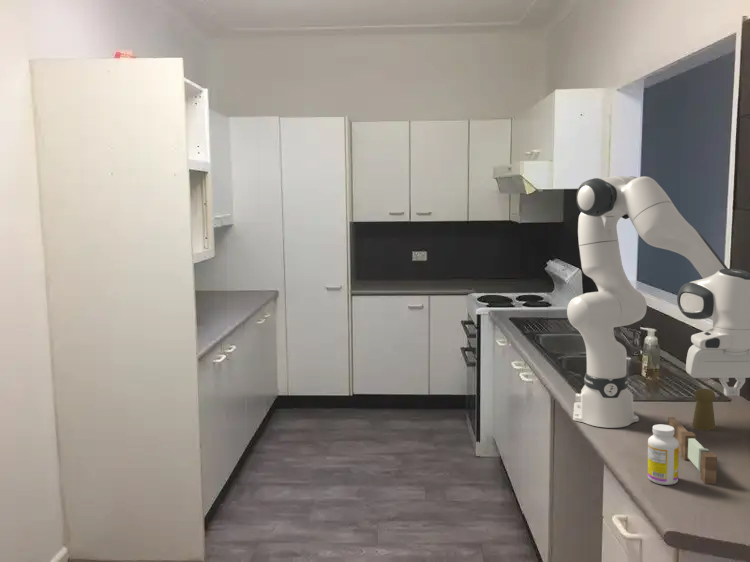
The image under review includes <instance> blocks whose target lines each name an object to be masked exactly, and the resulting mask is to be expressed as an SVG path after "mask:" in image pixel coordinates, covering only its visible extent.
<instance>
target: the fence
mask: <svg viewBox="0 0 750 562" xmlns="http://www.w3.org/2000/svg"><path fill="white" fill-rule="evenodd" d="M667 425H669V426H672V427H673V428H674V435H673V437H674V438H676V439H677V440H678V443H679V454H680V457H681V458H682V460H684V461H690V459H689V458H688V438H695V439H696V437H697V436H696V434H695V433H694V432H693V431H688V430H687V429H686V428H685V427H684V426H683V425H682V424H681V422H679V421H678V420H677V419H676V418H675V417H674V416H668V417H667ZM696 440H697V439H696ZM717 463H718V456H717V455H716V454H715V453H714V452H710V451H709V452H702V454H701V473H700V480H702V483H704V484H713V485H714V484H715V485H716V484H717V468H718V467H717V465H718V464H717Z"/></svg>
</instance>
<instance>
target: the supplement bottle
mask: <svg viewBox="0 0 750 562" xmlns="http://www.w3.org/2000/svg"><path fill="white" fill-rule="evenodd" d="M652 434H653V435H651V436H650V437H648V439H647V478H648V480H650V482H652V483H654V484H658V485H663V486H664V485H665V486H670V485H675V484H677V483H678V482H679V460H680V459H679V458H680V457H679V455H680V452H679V443H678V440H677V439H676V438H674V437H673V435H674V428H673V427H672V426H669V425H668V424H663V423H662V424H661V423H660V424H654V425H653V426H652Z"/></svg>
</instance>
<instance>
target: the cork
mask: <svg viewBox="0 0 750 562" xmlns="http://www.w3.org/2000/svg"><path fill="white" fill-rule="evenodd" d="M715 398H716V393H715V392H714V391H713V390H712V389H709V388H698V389H696V390H695V392H694V399H695V400H696V403H695V408H694V413H693V417H692V418H693V419H692V423H691V425H692V426H691V427H692V428H694V429H696V430H699V431H704V430H705V431H704V432H706V430H707V432H708V430H712V431H715V430H716V428H715V427H716V421H715V420H716V419H715V412H714V411H715V410H714V403H713V402H714V401H715ZM714 429H715V430H714Z"/></svg>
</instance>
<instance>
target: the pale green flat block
mask: <svg viewBox="0 0 750 562" xmlns="http://www.w3.org/2000/svg"><path fill="white" fill-rule="evenodd" d="M702 452H710V450H709V449H708V448H705V447H704V446H703V445H702V444H701V443H700V442H699V441H698V440H697V439H695V438H688V458H689V459H690V460H689V461H690V462H691V463H692V464H693V466H695V468H697V470H698V472H699V473H700V474H701V454H702Z"/></svg>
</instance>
